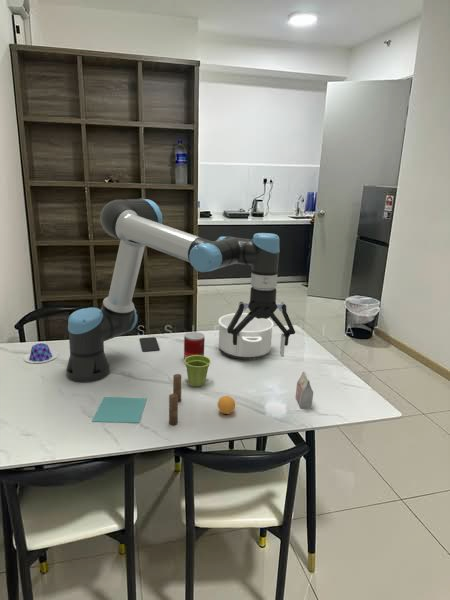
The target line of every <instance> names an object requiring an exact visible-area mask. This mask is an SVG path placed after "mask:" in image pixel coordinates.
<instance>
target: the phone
mask: <svg viewBox="0 0 450 600" xmlns="http://www.w3.org/2000/svg"><path fill="white" fill-rule="evenodd" d="M139 344H140V348H141V351H142V352H143V353H149V352H150V353H152V352H159V351H161V349H160V345H159V343H158V341H157V338H156V337H155V336H152V337H151V336H150V337H149V336H147V337H140V338H139Z"/></svg>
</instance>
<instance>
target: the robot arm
mask: <svg viewBox="0 0 450 600" xmlns="http://www.w3.org/2000/svg"><path fill="white" fill-rule="evenodd" d="M99 220H100V224H101V226H102V227H101V228H102V229H103V231H105V233H106V234H108V235H109V236H111V237H112V238H115V239H118V240H120V241H119V246H118V251H117V256H116V260H115V264H114V269H113V273H112V277H111V283H110V289H109V292H108V296H107V297H105V298H104V299H103V300H102V304H101V308H98V307H86V308H81V309H77V310H74V312H72V313H71V314H70V315H69V316H68V320H67V322H68V325H67V331H68V341H69V354H70V355H69V358H68V360H67V361H68V362H67V365H66V367H65V368H66V369H65V372H66V374H65V376H66V378H67V379H69V380H70V381H73V382H76V383H92V382H96V381H99V380H102V379H104V378H106V377H107V376H108V375H109V374H110V371H111V369H110V362H109V361H108V357H107V356H106V353H105V346H104V342H106V341H108V340H109V341H110V340H111V339H114V338H116V337H117V338H118V337H119V336H121V335H125V334H127V333H129V332H131V331H132V330H133V329H134V328H135V327H136V325H137V322H138V314H137V310H136V309H137V308H135V304H134V302H133V298H134V292H135V289H136V284H137V281H138V275H139V273H140V269H141V263H142V259H143V256H144V251H145V248H146V247H148V248H151V249H154V250H156V251H159V252H162V253H164V254H167V255H169V256H172V257H174V258H177V259H179V260H183V261H185V262H187V263H190V265H191V266H192V267H193V269H194V270H195V271H197V272H200V273H206V272H213V271H216V270H218V269H221V268H222V269H223V268H225V267H228V266H232V265H234V264H235V265H238V264H239V265H245V266H251V275H250V286H251V287H250V294H249V298H250V299H249V303H246V302H243V301H240V302H239V303H238V308H237V310H236V312H235V313H236V314H235V315H234V317H233V319H232V321H231V323H230V324H229V326H228V328H227V331H228V333H231V334H233V345H236V356H239V344H240V334H239V332H240V331H241V330H242V329H243V328H244V327H245V326H246V325H247V324H248V323H249V322H250V321H251V320H253V319H254V317H256V318H257V319H260V318H264V319H268V318H269V319H270V318H271V320H272V321H273V323H274V324H276V326H277V327H278V328H279V329H280V331H281V333H280V345H279V355H280V357H281V358H285V348H286V347H288V345H289V338H290V336H291V335H295V334H296V330H295V328H294V325H293V323H292V321H291V319H290V317H289V315H288V312H287V304H286V303H285V302H281V303H277V286H278V274H279V271H278V269H279V259H280V257H279V256H280V237H279V235H278V234H275V233H270V232H269V233H267V232H258V233H254V234H253V237H252V238H243V237H242V238H241V237H235V236H219V237H218V238H217V239H216V240H214V241H213V240H209V239H205V238H202V237H200V236H198V235H195V234H192V233H188V232H186V231H183V230H180V229H176V228H174V227H171V226H168V225H165V224H163V214H162V211H161V210H160V207H159V206H158V204H157V203H156V202H155V201H153V200H151V199H146V198H135V199H134V198H133V199H129V198H128V199H114V200H111V201H109V202H108V203H107V204H105V205H104V206H103V208H102V210H101V211H100V218H99ZM247 309H248V310H249V312H247V313H248V315H247V316H246V317H245V318H244V319H243V320H242V321H241V322H240V323H239V324H238V325H237V327H236V328H235V329H234V327H235V325H236V324H237V322H238V320H239V318H240V317H241V315H242V313H244V312H245V311H246V310H247ZM277 309H278V310H279V312H281V315H283V318H284V321H285V323H286V325H287V327H288V329H287V328H286V326H285V325H283V323H282V322H281V321H280V320H279V318H278V316H276V314H275V312H276V311H277ZM285 346H286V347H285Z"/></svg>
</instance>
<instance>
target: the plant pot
mask: <svg viewBox="0 0 450 600" xmlns="http://www.w3.org/2000/svg"><path fill="white" fill-rule="evenodd" d="M183 361H184V364H185V367H186V375H187V383H189V384H188V385H190V386H192V387H199V386H204V385H205V384H206V380H207V376H208V371H209V367H210V365H211V362H212V360H211V358H209V357H208V356H205V355H204V356H202V355H192V356H189V357H187V358H185V360H184V359H183Z"/></svg>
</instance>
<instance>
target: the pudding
mask: <svg viewBox="0 0 450 600" xmlns="http://www.w3.org/2000/svg"><path fill="white" fill-rule="evenodd" d="M57 356H58V353H57V351H54V350H50V347H49V345H48V343H43V342H42V343H36V344H33V345H32V347H31V348H30V352H29V353H27V354H26V355H24V357H23V360H24V361H25V362H27V363H30V364H31V363H32V364H41V363H46V362H50V361H52V360H54V359H55V358H57Z"/></svg>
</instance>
